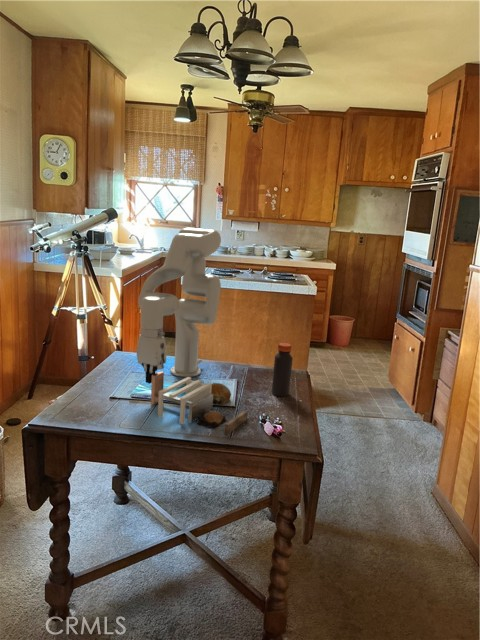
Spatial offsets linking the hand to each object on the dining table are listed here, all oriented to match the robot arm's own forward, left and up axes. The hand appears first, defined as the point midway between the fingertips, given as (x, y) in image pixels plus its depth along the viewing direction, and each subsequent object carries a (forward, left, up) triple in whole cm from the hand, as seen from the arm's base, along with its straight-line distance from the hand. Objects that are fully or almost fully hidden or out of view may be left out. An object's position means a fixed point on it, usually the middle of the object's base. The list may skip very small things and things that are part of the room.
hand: (150, 381), depth 168 cm
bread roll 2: (0, +26, -8) cm, 28 cm away
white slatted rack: (0, +15, -7) cm, 17 cm away
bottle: (-36, +35, -7) cm, 51 cm away
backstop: (-1, +35, -7) cm, 36 cm away
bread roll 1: (-15, +19, -8) cm, 25 cm away
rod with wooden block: (0, +13, -7) cm, 14 cm away
